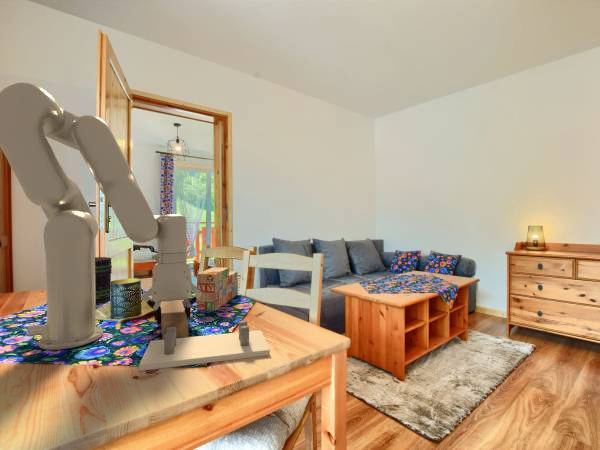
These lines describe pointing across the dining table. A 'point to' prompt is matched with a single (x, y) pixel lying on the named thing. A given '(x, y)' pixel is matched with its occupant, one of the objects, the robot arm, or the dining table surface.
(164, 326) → the shelf board
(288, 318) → the dining table surface
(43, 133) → the robot arm
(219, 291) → the stack of blocks
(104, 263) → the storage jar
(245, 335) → the peg stand
